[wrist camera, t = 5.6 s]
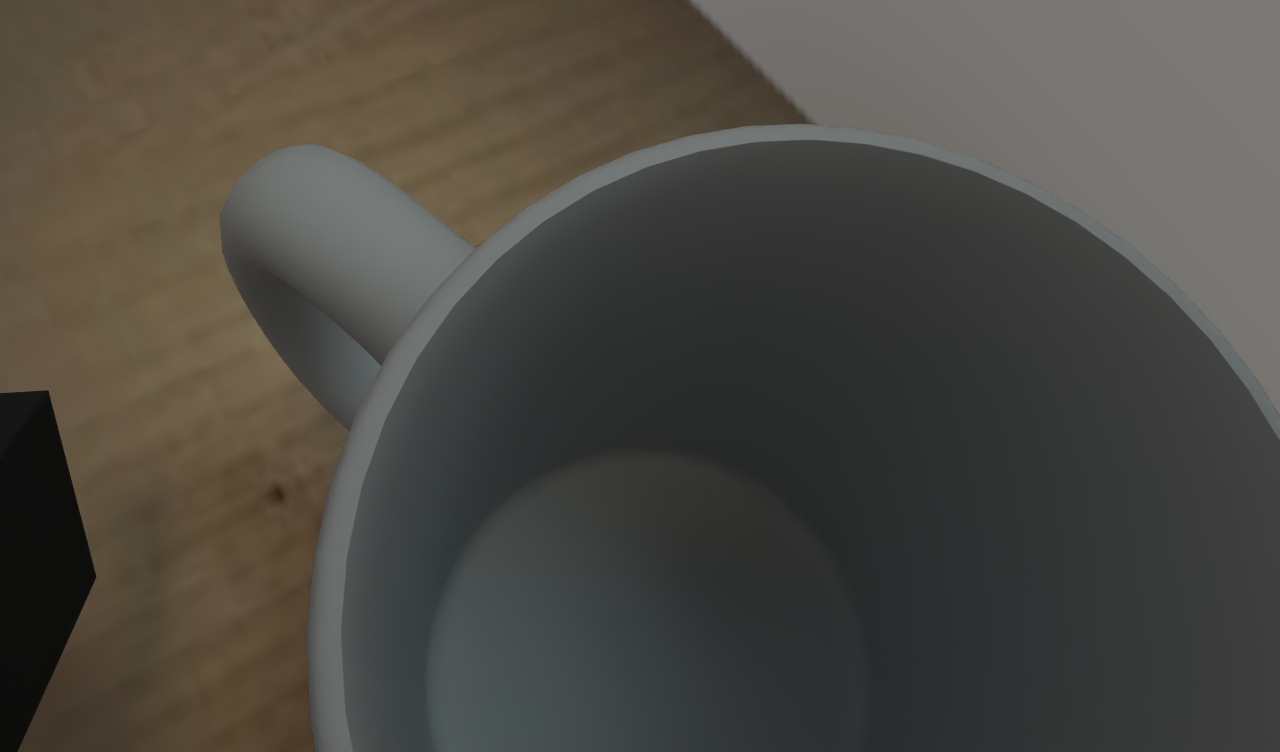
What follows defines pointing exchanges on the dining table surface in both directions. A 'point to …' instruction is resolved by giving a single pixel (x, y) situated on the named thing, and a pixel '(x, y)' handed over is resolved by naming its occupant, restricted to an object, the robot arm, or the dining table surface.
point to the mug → (767, 462)
